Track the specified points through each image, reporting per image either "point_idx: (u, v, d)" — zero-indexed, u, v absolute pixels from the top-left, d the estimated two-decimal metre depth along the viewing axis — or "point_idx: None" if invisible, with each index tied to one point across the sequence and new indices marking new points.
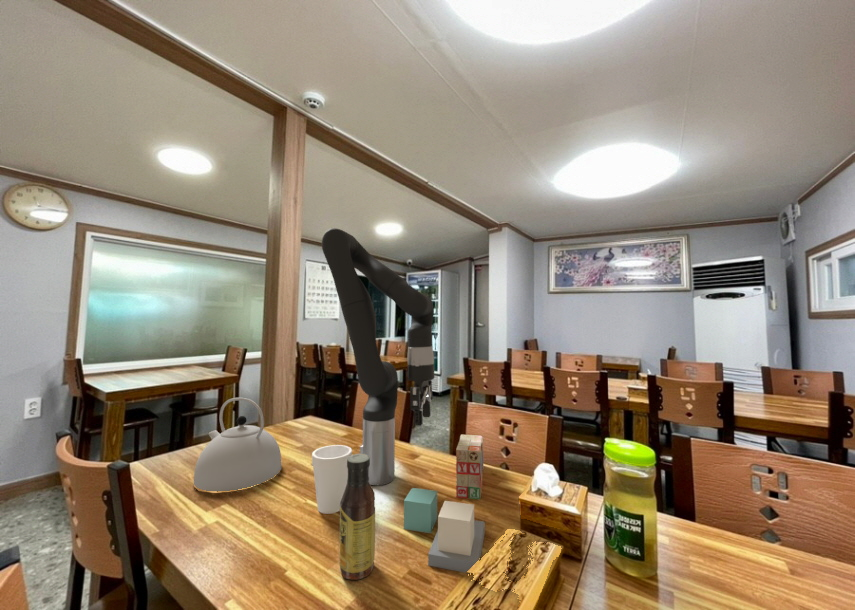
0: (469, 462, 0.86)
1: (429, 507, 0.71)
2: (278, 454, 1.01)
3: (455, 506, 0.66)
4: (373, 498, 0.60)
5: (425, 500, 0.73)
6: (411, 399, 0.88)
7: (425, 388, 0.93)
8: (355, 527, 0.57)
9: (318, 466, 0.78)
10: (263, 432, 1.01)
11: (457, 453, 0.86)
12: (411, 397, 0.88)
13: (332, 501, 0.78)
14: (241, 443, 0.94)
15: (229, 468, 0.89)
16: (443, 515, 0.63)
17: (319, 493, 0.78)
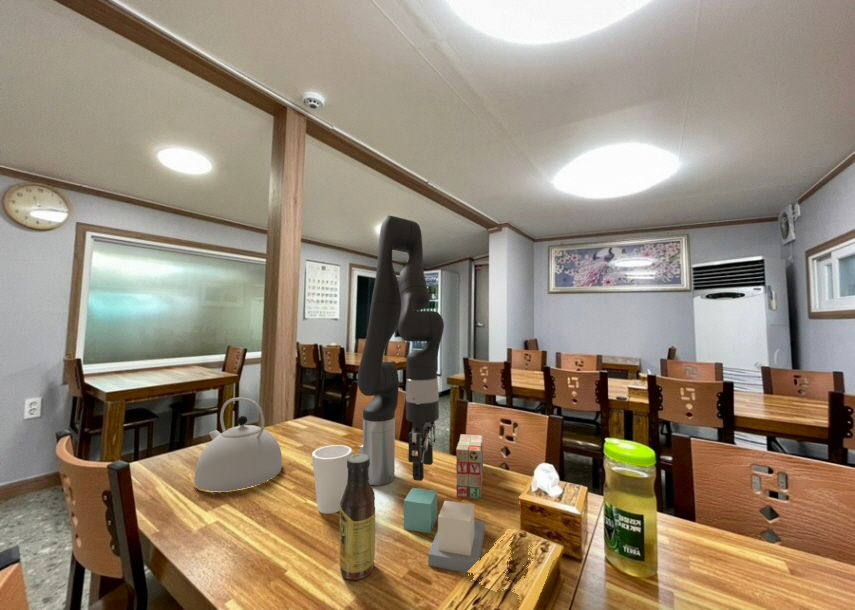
0: (469, 462, 0.86)
1: (429, 507, 0.71)
2: (279, 454, 1.01)
3: (455, 506, 0.66)
4: (373, 498, 0.60)
5: (425, 500, 0.73)
6: (410, 448, 0.69)
7: (427, 431, 0.74)
8: (355, 527, 0.57)
9: (318, 466, 0.78)
10: (264, 432, 1.01)
11: (457, 453, 0.87)
12: (410, 445, 0.69)
13: (332, 501, 0.78)
14: (241, 442, 0.94)
15: (230, 468, 0.89)
16: (443, 515, 0.63)
17: (319, 493, 0.78)
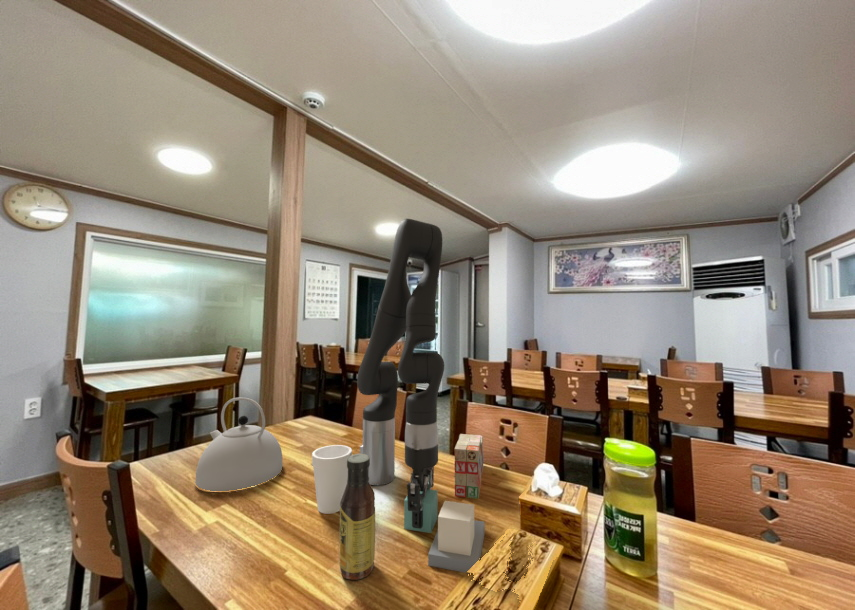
0: (467, 462, 0.86)
1: (429, 506, 0.71)
2: (279, 454, 1.01)
3: (455, 506, 0.66)
4: (373, 498, 0.60)
5: (425, 499, 0.73)
6: (409, 499, 0.69)
7: (426, 477, 0.73)
8: (355, 527, 0.57)
9: (318, 466, 0.78)
10: (264, 432, 1.01)
11: (455, 452, 0.87)
12: (408, 496, 0.69)
13: (332, 501, 0.78)
14: (242, 442, 0.94)
15: (231, 467, 0.90)
16: (443, 515, 0.63)
17: (319, 493, 0.78)
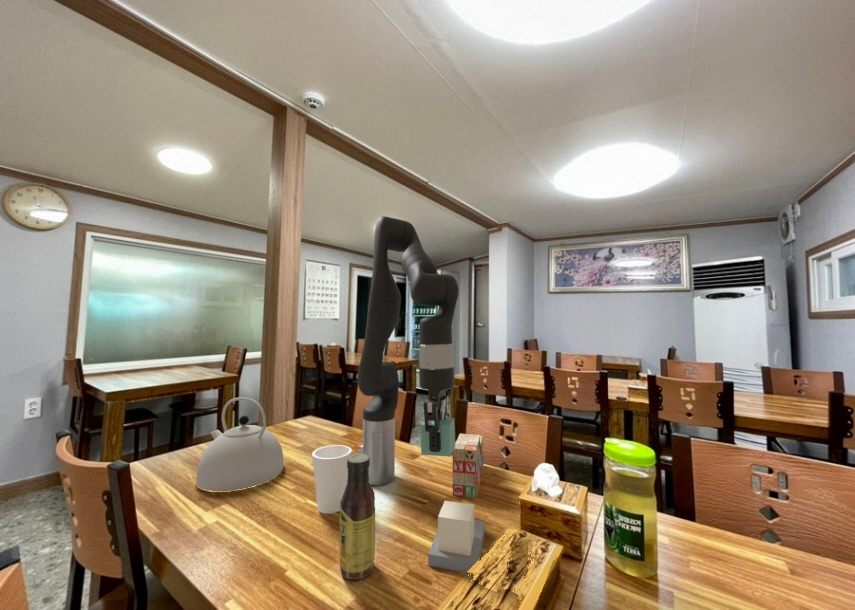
0: (465, 461, 0.86)
1: (448, 429, 0.67)
2: (280, 454, 1.01)
3: (455, 506, 0.66)
4: (373, 498, 0.60)
5: (443, 423, 0.69)
6: (426, 418, 0.65)
7: (443, 400, 0.69)
8: (355, 527, 0.57)
9: (318, 466, 0.78)
10: (265, 432, 1.01)
11: (453, 452, 0.87)
12: (426, 416, 0.65)
13: (332, 501, 0.78)
14: (243, 442, 0.94)
15: (231, 467, 0.90)
16: (443, 515, 0.63)
17: (319, 493, 0.78)
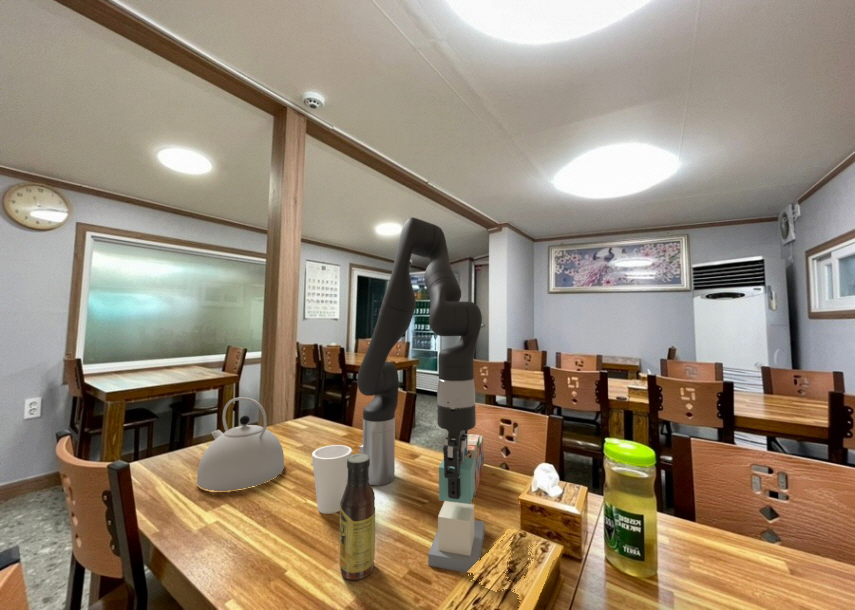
0: None
1: (469, 474, 0.62)
2: (281, 454, 1.01)
3: (455, 506, 0.66)
4: (373, 498, 0.60)
5: (463, 466, 0.64)
6: (446, 464, 0.60)
7: (463, 441, 0.64)
8: (355, 527, 0.57)
9: (318, 466, 0.78)
10: (266, 432, 1.01)
11: None
12: (445, 461, 0.60)
13: (332, 501, 0.78)
14: (244, 442, 0.94)
15: (232, 467, 0.90)
16: (443, 515, 0.63)
17: (319, 493, 0.78)
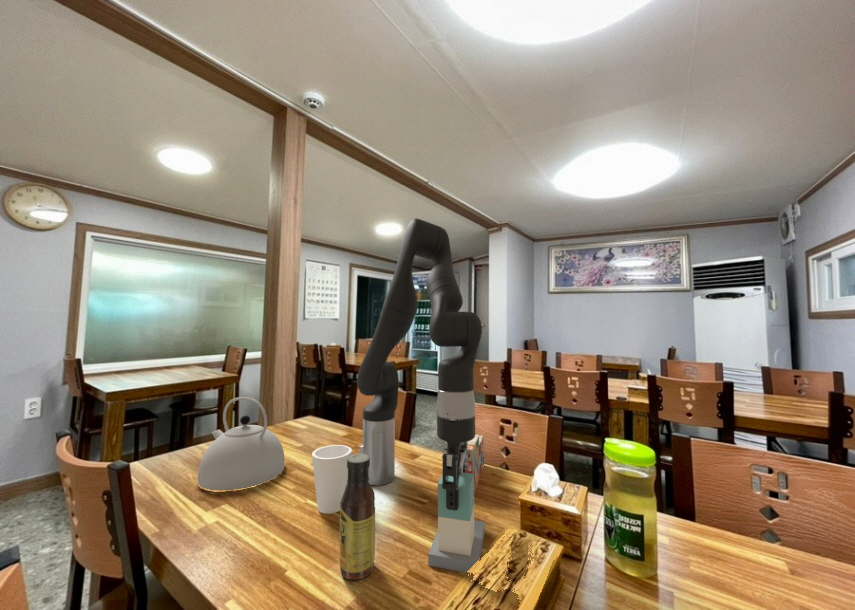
0: None
1: (468, 491, 0.61)
2: (281, 453, 1.01)
3: None
4: (373, 498, 0.60)
5: (462, 482, 0.63)
6: (444, 473, 0.59)
7: (463, 452, 0.63)
8: (355, 527, 0.57)
9: (318, 466, 0.78)
10: (266, 431, 1.02)
11: None
12: (444, 470, 0.59)
13: (332, 501, 0.78)
14: (244, 442, 0.94)
15: (233, 467, 0.90)
16: None
17: (319, 493, 0.78)
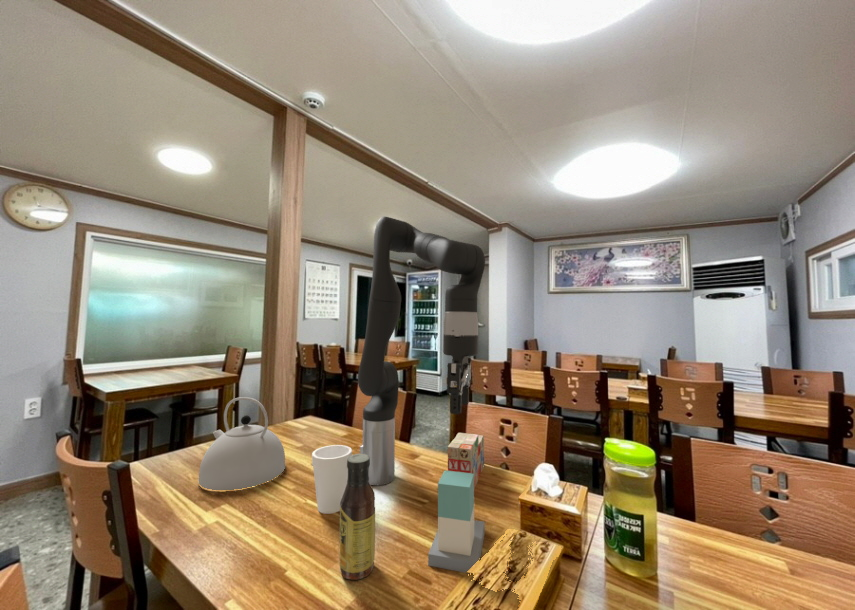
0: (459, 460, 0.87)
1: (468, 491, 0.61)
2: (282, 453, 1.01)
3: None
4: (373, 498, 0.60)
5: (462, 482, 0.63)
6: (449, 379, 0.66)
7: (466, 366, 0.70)
8: (355, 527, 0.57)
9: (318, 466, 0.78)
10: (267, 431, 1.02)
11: (448, 450, 0.88)
12: (449, 376, 0.66)
13: (332, 501, 0.78)
14: (245, 442, 0.94)
15: (234, 467, 0.90)
16: None
17: (319, 493, 0.78)
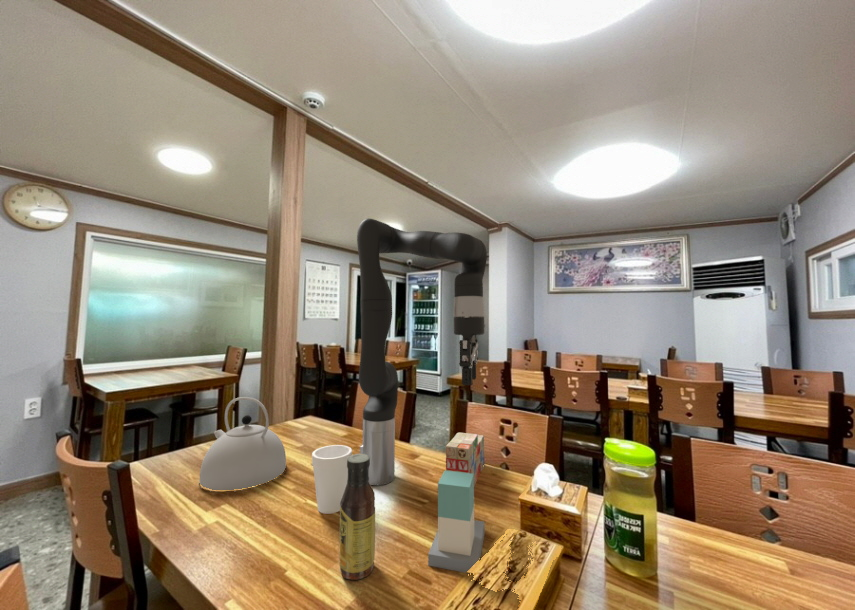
0: (457, 459, 0.88)
1: (468, 491, 0.61)
2: (283, 453, 1.02)
3: None
4: (373, 498, 0.60)
5: (462, 482, 0.63)
6: (461, 353, 0.76)
7: (474, 344, 0.80)
8: (355, 527, 0.57)
9: (318, 466, 0.78)
10: (268, 431, 1.02)
11: (447, 449, 0.89)
12: (461, 351, 0.76)
13: (332, 501, 0.78)
14: (246, 442, 0.94)
15: (235, 467, 0.90)
16: None
17: (319, 493, 0.78)
